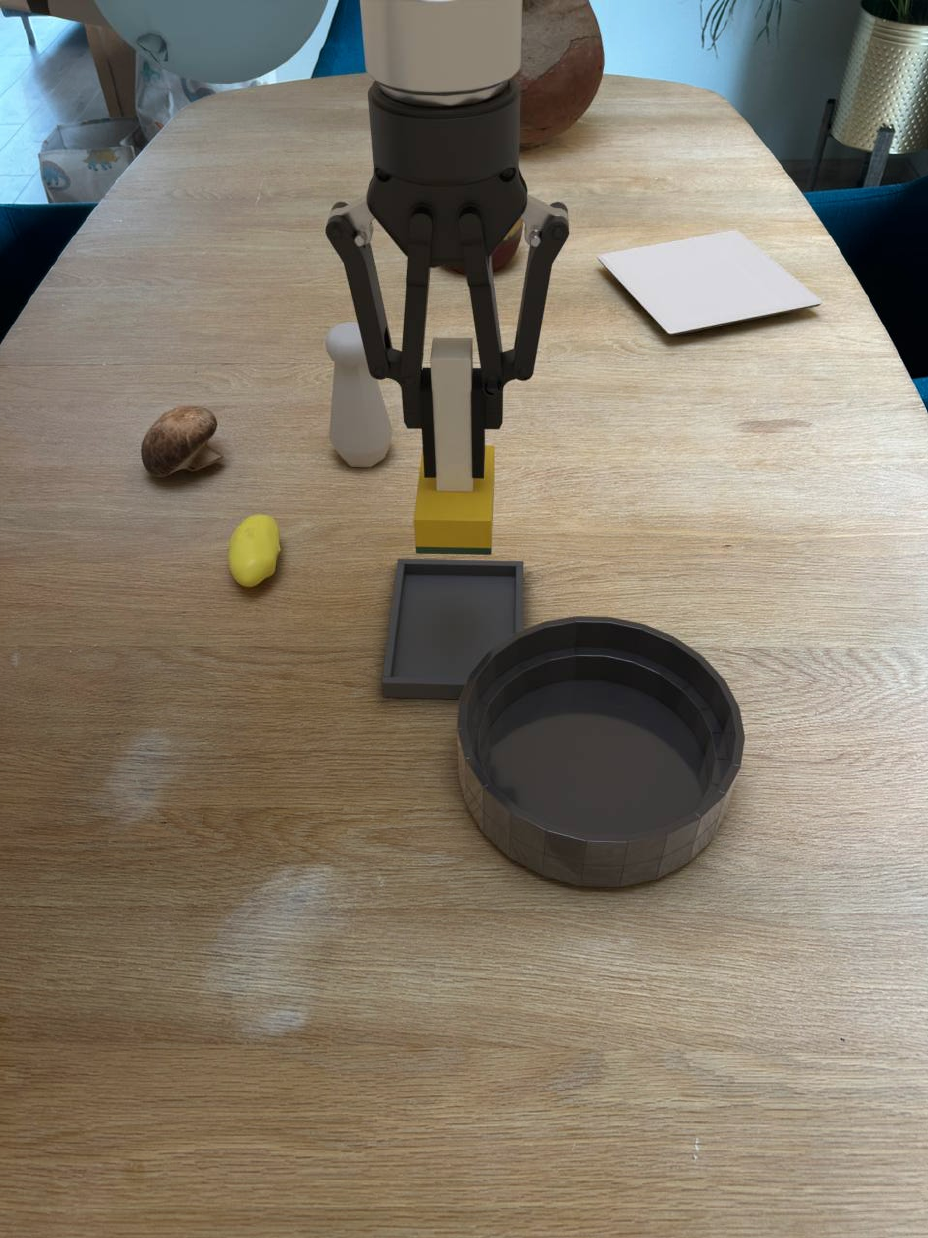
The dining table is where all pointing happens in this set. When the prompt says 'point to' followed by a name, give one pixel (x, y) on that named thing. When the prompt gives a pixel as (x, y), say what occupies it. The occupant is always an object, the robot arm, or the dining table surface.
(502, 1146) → the dining table surface
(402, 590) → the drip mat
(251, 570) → the yellow potato
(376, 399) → the salt shaker
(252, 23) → the robot arm
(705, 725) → the bowl
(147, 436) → the mushroom
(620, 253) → the plate
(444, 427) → the sponge brush
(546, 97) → the jug
